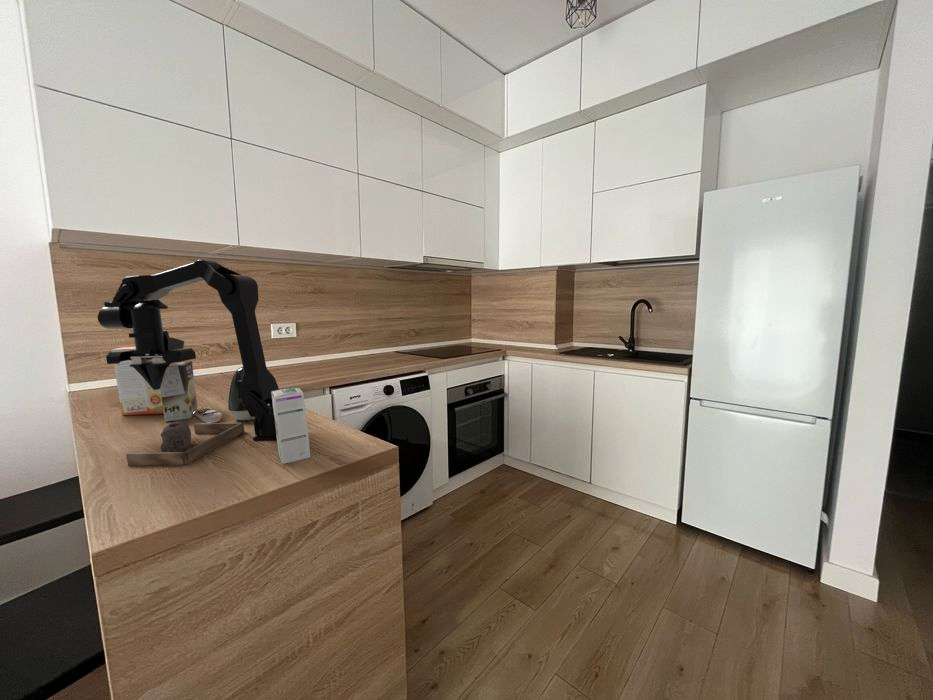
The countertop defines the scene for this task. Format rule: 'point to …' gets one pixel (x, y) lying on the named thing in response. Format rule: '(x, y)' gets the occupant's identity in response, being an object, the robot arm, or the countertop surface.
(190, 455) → the walnut frame
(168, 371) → the coffee box
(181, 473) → the countertop surface
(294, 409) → the syrup box
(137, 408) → the cracker box
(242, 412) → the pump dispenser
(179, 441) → the perforated stone tool
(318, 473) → the countertop surface
